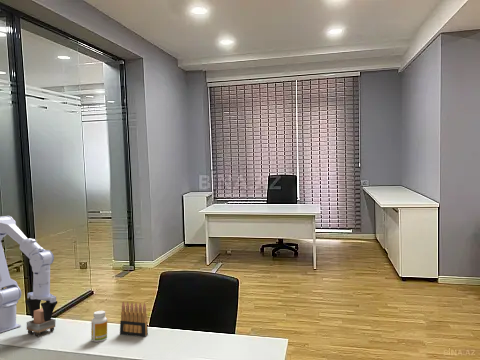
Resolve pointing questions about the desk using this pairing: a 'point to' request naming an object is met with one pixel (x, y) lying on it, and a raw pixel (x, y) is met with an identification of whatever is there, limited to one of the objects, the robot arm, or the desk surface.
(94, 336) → the supplement bottle
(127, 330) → the ammunition clip
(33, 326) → the cart
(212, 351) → the desk surface
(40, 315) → the block
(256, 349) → the desk surface
